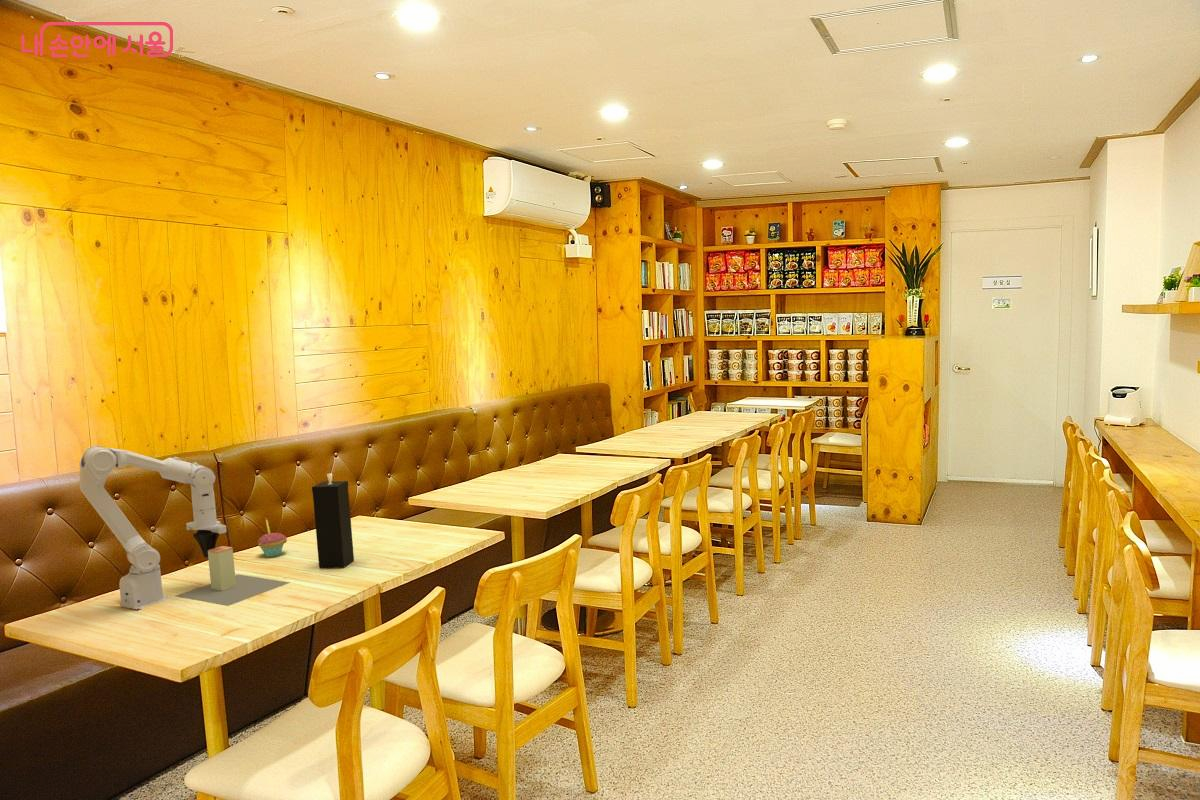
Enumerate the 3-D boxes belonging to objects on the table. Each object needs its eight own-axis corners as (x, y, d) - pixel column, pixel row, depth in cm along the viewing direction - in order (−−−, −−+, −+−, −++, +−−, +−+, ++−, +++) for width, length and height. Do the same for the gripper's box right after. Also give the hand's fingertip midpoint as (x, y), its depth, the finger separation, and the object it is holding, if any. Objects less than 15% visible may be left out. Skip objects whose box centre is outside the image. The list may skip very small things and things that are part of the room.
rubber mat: (228, 608, 214) (228, 605, 214) (174, 597, 225) (174, 595, 225) (290, 584, 231) (290, 582, 231) (238, 576, 242) (238, 574, 242)
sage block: (222, 590, 227) (218, 551, 226) (211, 589, 229) (207, 550, 228) (236, 585, 231) (232, 547, 230) (225, 584, 233) (221, 545, 232)
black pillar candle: (354, 560, 252) (347, 470, 250) (344, 568, 245) (336, 475, 242) (329, 561, 253) (322, 471, 250) (318, 568, 245) (310, 475, 243)
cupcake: (253, 557, 262) (249, 520, 261) (274, 550, 269) (271, 514, 268) (272, 559, 258) (268, 522, 257) (293, 552, 265) (290, 515, 264)
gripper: (233, 507, 230) (238, 554, 232) (200, 504, 237) (204, 550, 239) (211, 513, 224) (216, 561, 225) (177, 509, 231) (182, 557, 232)
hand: (209, 556), depth 232 cm, fingers closed
